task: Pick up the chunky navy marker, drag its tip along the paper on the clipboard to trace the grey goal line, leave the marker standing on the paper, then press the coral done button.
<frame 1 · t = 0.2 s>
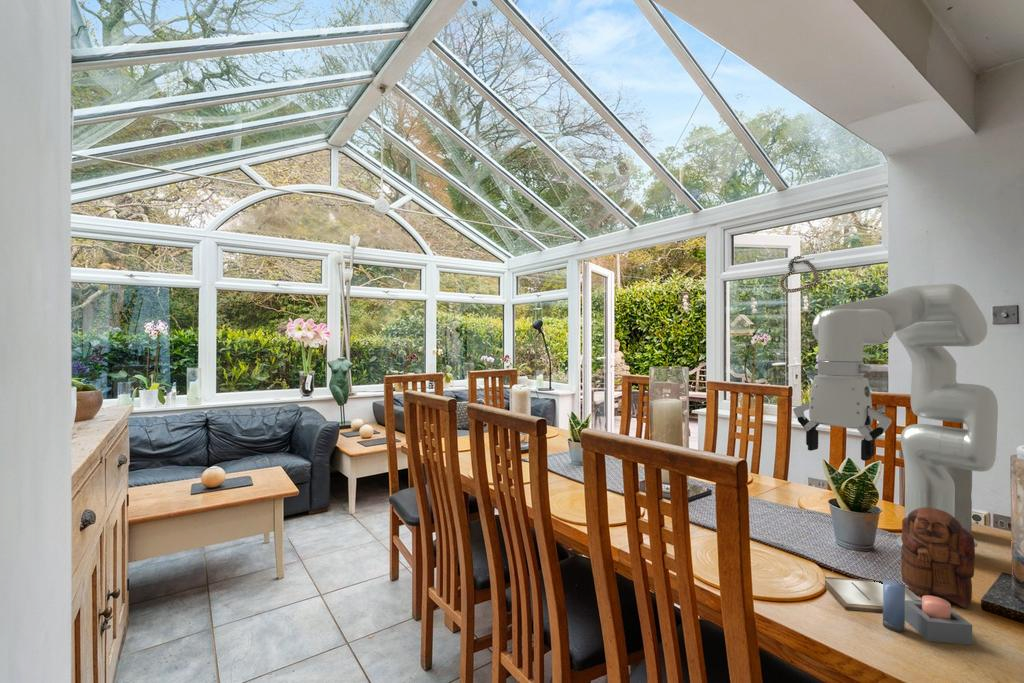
hand: (838, 454, 99), 30 cm above the table, tool pointing down, fingers open, 9 cm apart
button housing: (935, 630, 90), on the table
marker: (893, 627, 91), on the table
thermos bottle: (951, 531, 134), on the table
clipboard: (872, 596, 101), on the table
wooden figurine: (935, 596, 102), on the table
done button: (936, 610, 90), point 4 cm above the table, slide at 0.0 cm
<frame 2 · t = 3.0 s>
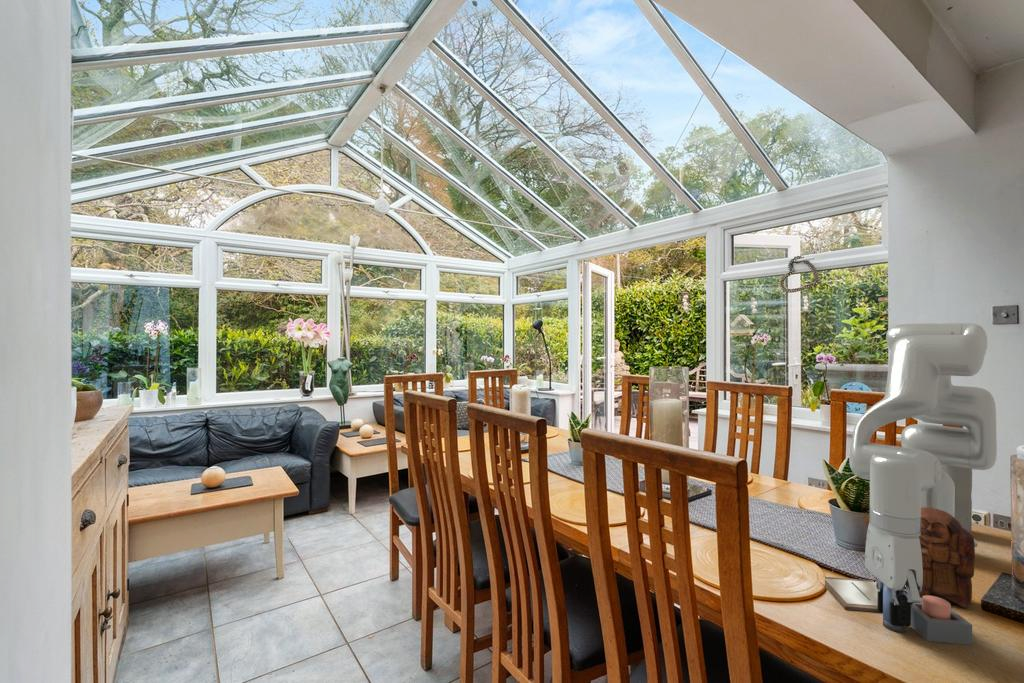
hand: (893, 618, 91), 2 cm above the table, tool pointing down, fingers closed on marker, 3 cm apart
marker: (893, 627, 91), on the table, touching gripper
everything else where it was.
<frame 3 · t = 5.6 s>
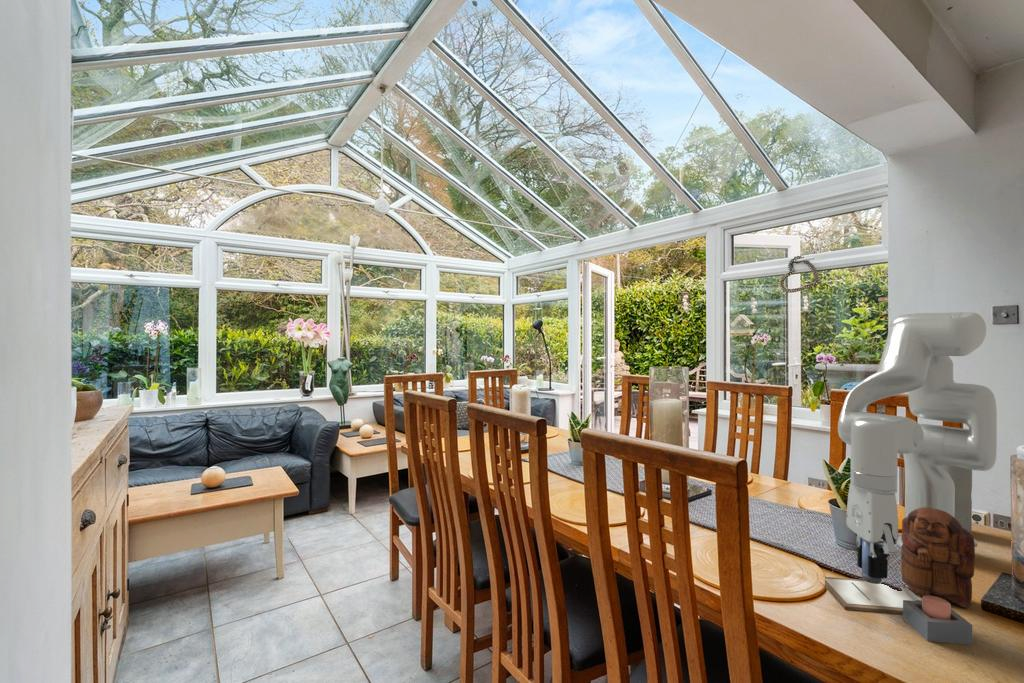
hand: (871, 571, 97), 7 cm above the table, tool pointing down, fingers closed on marker, 3 cm apart
marker: (871, 579, 97), point 6 cm above the table, touching gripper
everything else where it was.
when the fingers open (3 cm above the table, at t = 8.1 s): marker stays where it is, resting on clipboard.
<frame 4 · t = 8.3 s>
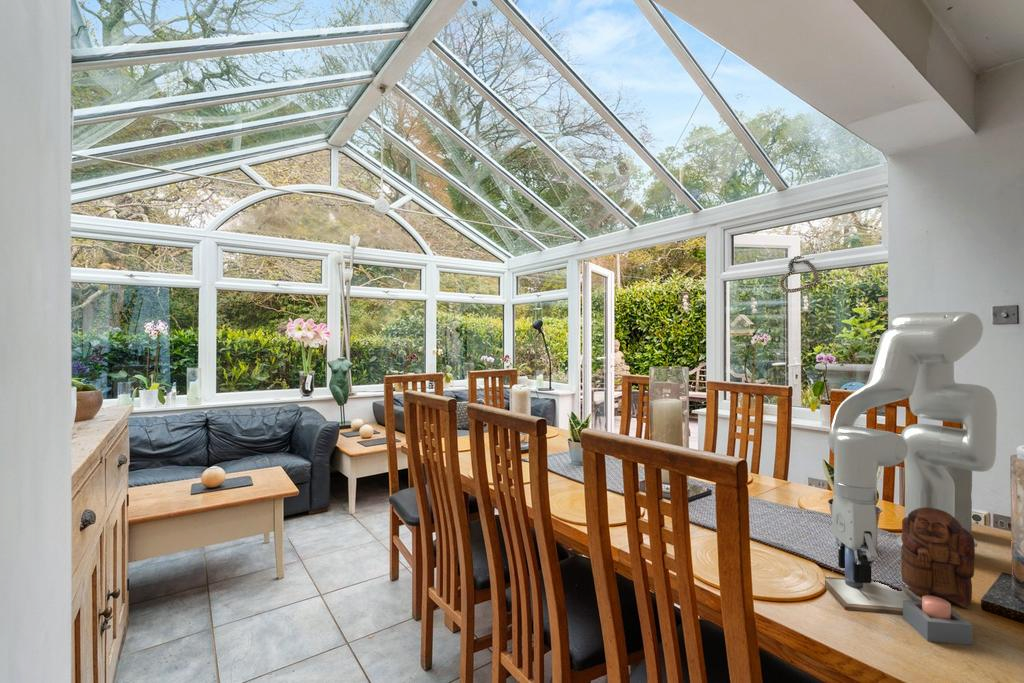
hand: (854, 574, 105), 3 cm above the table, tool pointing down, fingers open, 5 cm apart
marker: (854, 584, 105), point 1 cm above the table, touching clipboard
everything else where it was.
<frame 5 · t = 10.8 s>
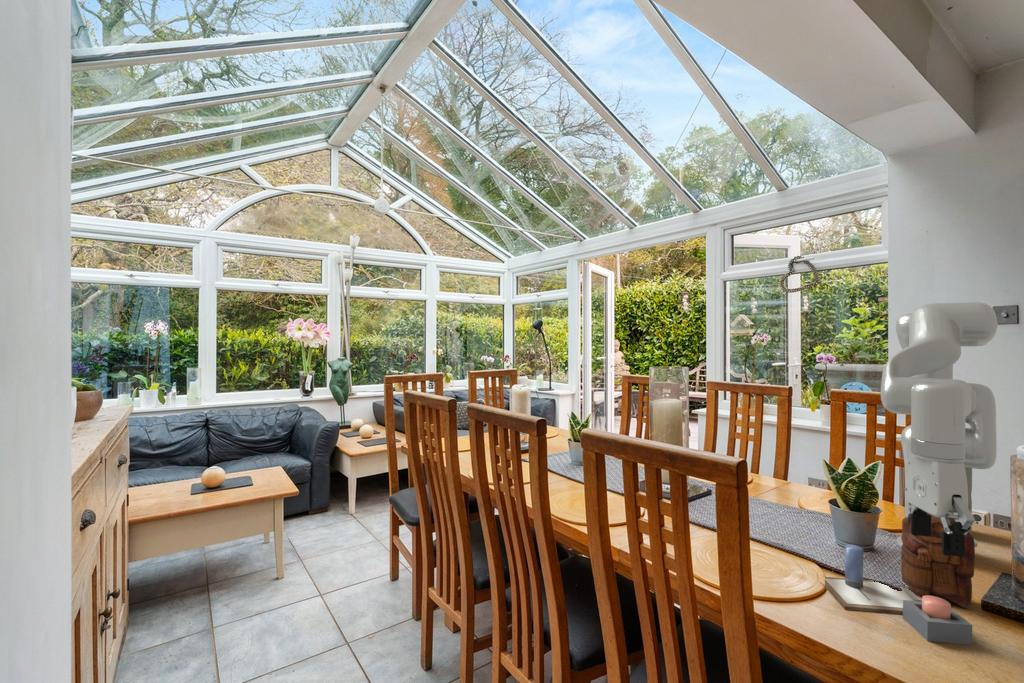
hand: (936, 544, 89), 16 cm above the table, tool pointing down, fingers open, 7 cm apart
nothing on the table moved.
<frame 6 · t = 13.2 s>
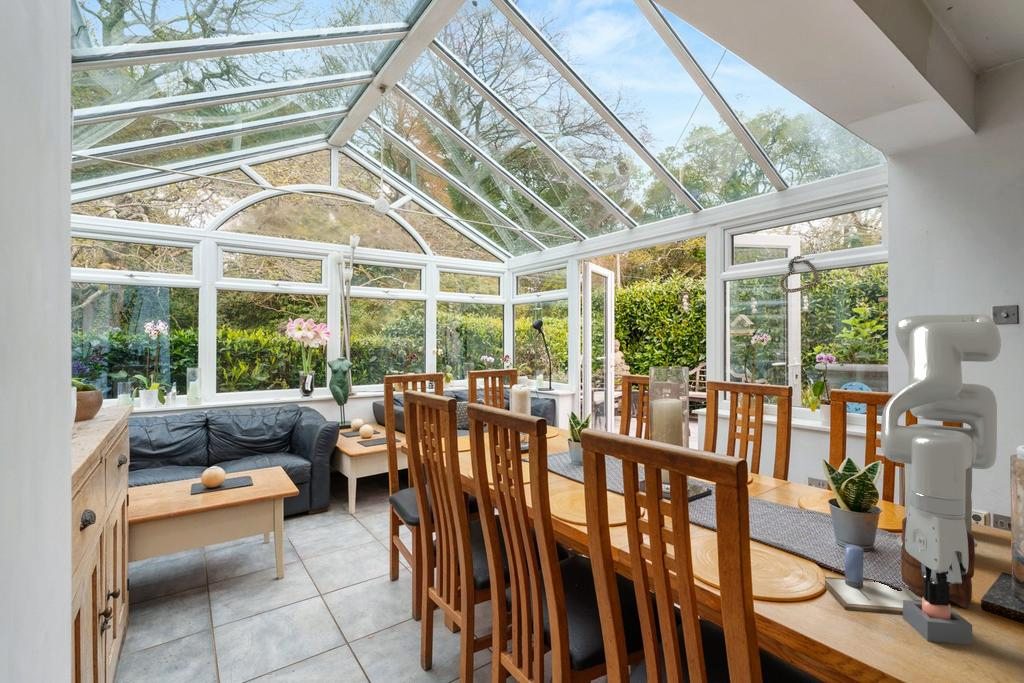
hand: (936, 602, 89), 5 cm above the table, tool pointing down, fingers closed
done button: (936, 611, 90), point 4 cm above the table, slide at 0.2 cm, touching gripper
everything else where it was.
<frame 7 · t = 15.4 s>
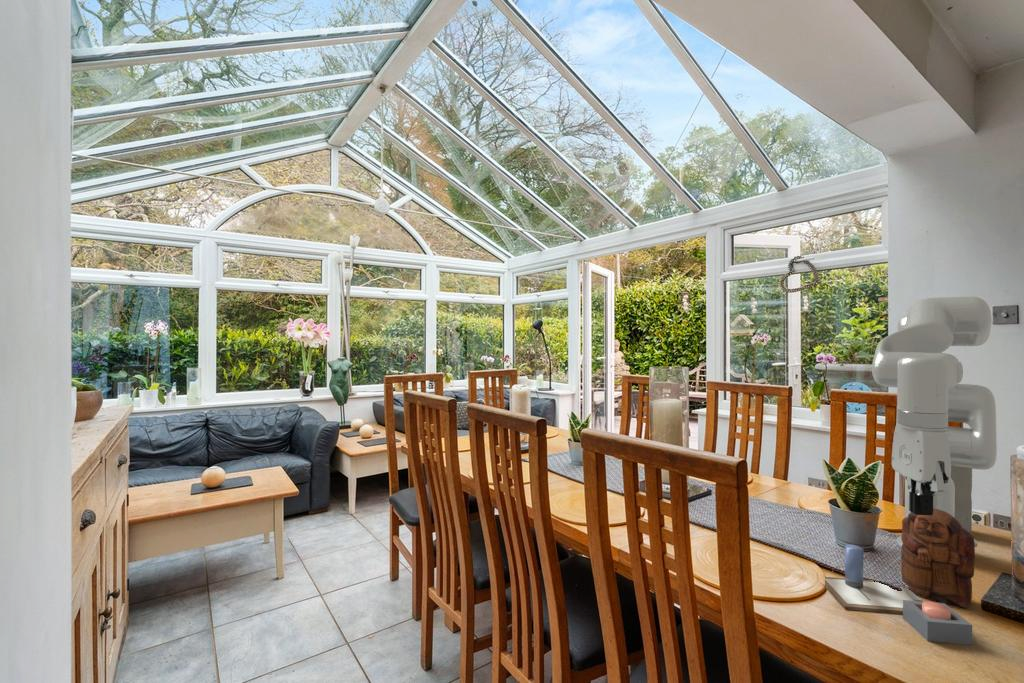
hand: (921, 513, 95), 20 cm above the table, tool pointing down, fingers closed
done button: (936, 616, 90), point 3 cm above the table, slide at 1.2 cm
everything else where it was.
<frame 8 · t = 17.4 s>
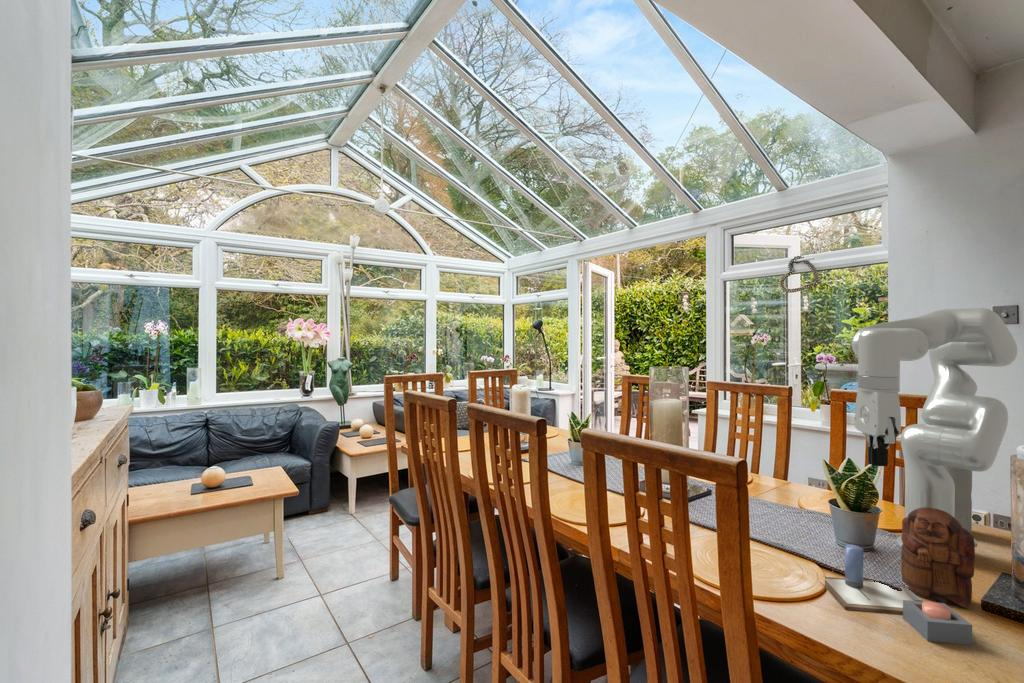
hand: (877, 464, 110), 25 cm above the table, tool pointing down, fingers closed
nothing on the table moved.
at the end: marker inside the target area on the clipboard (3.6 cm from its centre), point 0.8 cm above the clipboard's base; done button slide at 1.2 cm; the gripper is holding nothing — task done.
